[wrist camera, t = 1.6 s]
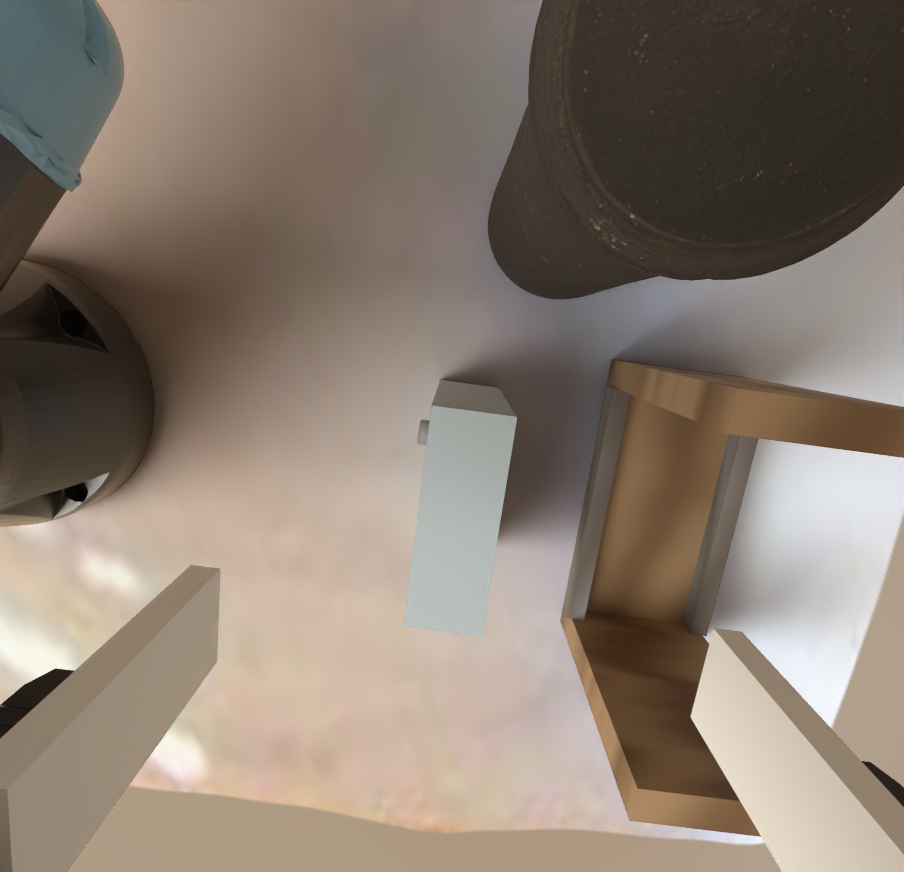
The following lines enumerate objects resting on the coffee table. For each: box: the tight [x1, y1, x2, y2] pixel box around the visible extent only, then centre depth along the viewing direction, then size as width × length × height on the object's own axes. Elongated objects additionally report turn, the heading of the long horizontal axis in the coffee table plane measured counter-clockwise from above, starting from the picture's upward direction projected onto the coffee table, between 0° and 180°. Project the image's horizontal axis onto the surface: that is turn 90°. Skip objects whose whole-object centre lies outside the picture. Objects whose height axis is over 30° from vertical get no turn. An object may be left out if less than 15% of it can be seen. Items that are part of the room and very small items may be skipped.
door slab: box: [404, 380, 517, 637], centre depth 27 cm, size 4×10×10 cm, turn 172°
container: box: [488, 0, 904, 299], centre depth 19 cm, size 9×9×20 cm
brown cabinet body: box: [561, 360, 904, 837], centre depth 25 cm, size 8×17×14 cm, turn 172°
